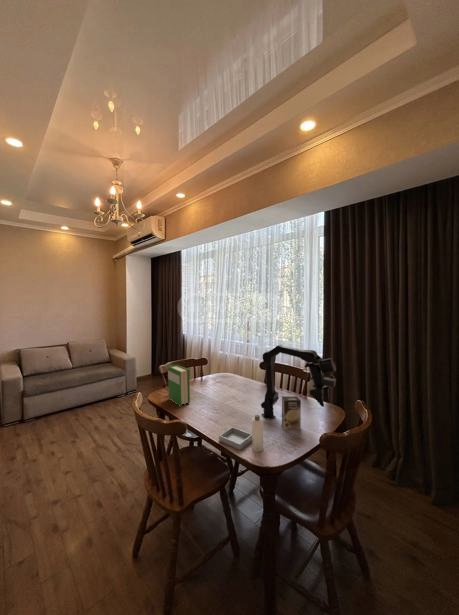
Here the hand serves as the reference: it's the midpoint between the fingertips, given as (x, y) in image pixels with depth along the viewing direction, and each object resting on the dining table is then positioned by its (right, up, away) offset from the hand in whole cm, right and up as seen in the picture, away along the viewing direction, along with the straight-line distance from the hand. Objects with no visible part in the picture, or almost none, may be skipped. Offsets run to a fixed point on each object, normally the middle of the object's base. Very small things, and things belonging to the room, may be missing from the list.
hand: (325, 403), depth 131 cm
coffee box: (-16, -16, +7) cm, 24 cm away
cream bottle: (-37, -17, -12) cm, 42 cm away
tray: (-47, -17, -6) cm, 50 cm away
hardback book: (-86, -16, +45) cm, 99 cm away
